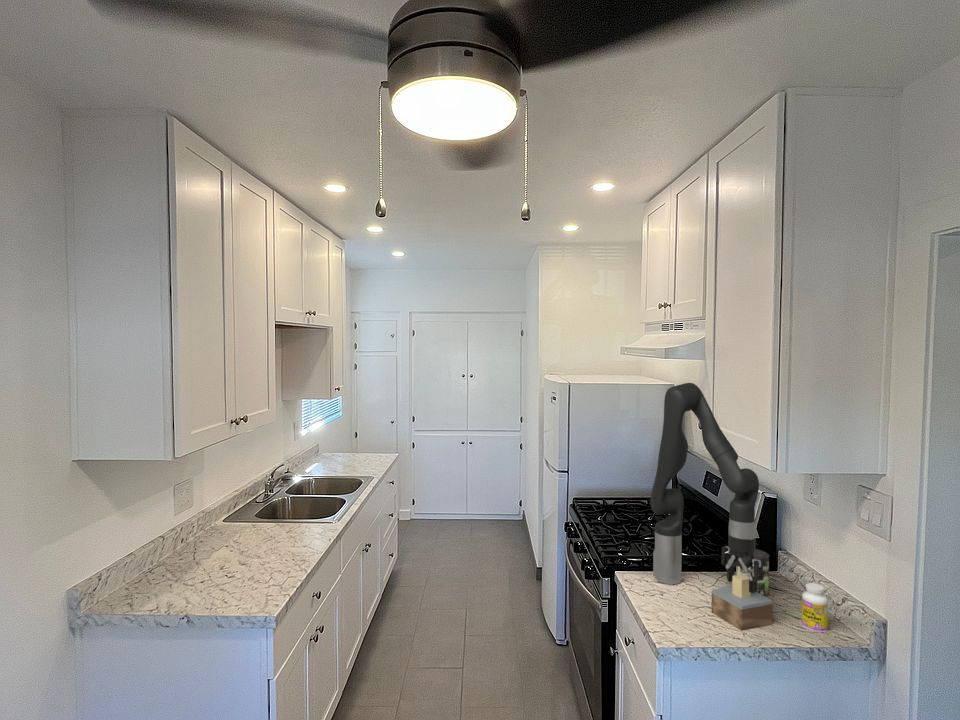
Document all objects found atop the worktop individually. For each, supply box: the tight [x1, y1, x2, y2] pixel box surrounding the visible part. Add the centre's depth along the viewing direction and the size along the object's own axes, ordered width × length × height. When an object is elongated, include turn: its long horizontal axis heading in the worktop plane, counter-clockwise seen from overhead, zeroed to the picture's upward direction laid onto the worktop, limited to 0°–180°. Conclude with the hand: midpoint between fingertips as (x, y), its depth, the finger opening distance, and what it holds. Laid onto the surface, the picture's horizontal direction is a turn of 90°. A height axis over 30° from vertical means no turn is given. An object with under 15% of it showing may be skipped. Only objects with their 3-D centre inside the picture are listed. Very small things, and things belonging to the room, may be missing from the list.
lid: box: [711, 574, 774, 610], centre depth 166 cm, size 12×12×7 cm
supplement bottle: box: [801, 582, 829, 633], centre depth 161 cm, size 7×7×13 cm
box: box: [711, 592, 774, 632], centre depth 166 cm, size 12×12×7 cm
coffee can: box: [735, 548, 770, 598], centre depth 185 cm, size 10×10×14 cm
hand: (741, 586), depth 166 cm, fingers open, 8 cm apart
